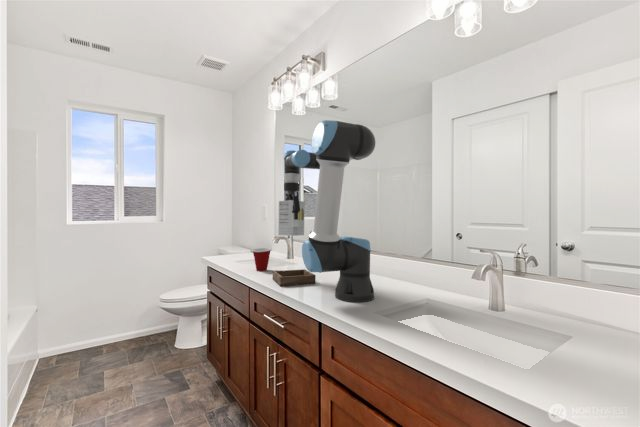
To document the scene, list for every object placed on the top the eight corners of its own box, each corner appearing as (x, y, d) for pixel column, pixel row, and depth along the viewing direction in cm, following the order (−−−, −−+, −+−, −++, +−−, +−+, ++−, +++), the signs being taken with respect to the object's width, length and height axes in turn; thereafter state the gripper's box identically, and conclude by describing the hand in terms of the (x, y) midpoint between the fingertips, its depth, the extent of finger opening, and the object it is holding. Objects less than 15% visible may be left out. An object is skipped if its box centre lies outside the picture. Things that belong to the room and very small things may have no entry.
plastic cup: (247, 270, 172) (248, 248, 172) (264, 267, 179) (264, 247, 179) (257, 272, 164) (258, 250, 164) (274, 270, 171) (275, 249, 171)
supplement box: (292, 235, 143) (293, 200, 143) (277, 235, 148) (278, 200, 149) (304, 235, 151) (305, 201, 151) (290, 234, 156) (290, 201, 157)
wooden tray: (315, 283, 140) (315, 275, 140) (280, 286, 134) (280, 277, 134) (304, 277, 154) (304, 269, 154) (272, 279, 148) (272, 271, 148)
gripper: (307, 180, 140) (306, 226, 140) (292, 185, 163) (292, 226, 162) (291, 179, 137) (290, 227, 137) (278, 185, 160) (278, 226, 160)
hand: (291, 226), depth 150 cm, fingers closed on supplement box, 12 cm apart
